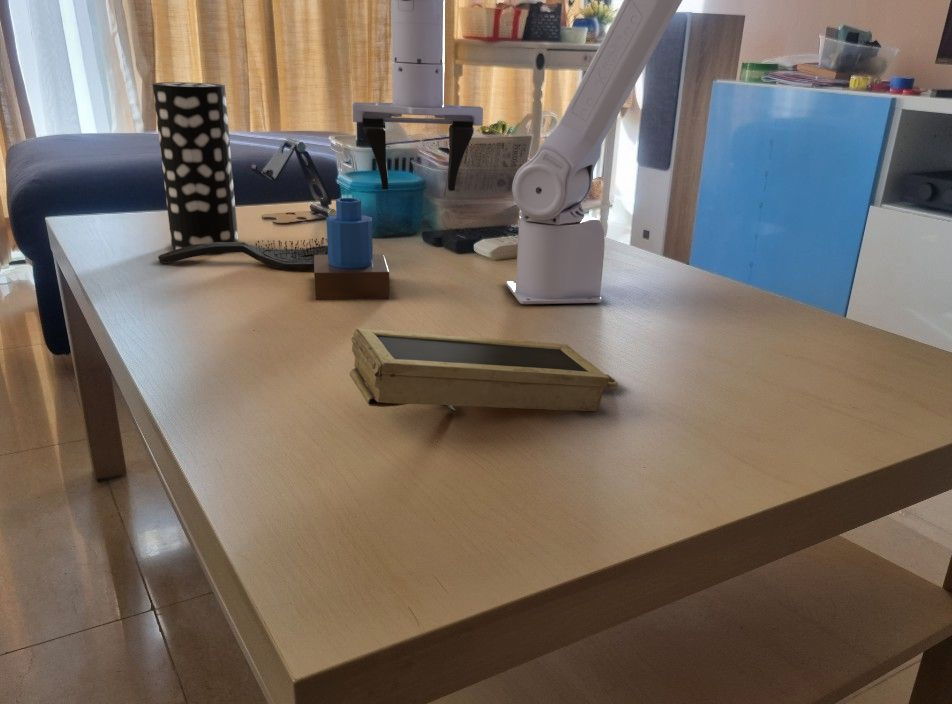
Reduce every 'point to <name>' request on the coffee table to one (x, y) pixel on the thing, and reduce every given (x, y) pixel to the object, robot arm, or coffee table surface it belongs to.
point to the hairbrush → (254, 254)
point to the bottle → (349, 235)
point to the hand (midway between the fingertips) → (418, 188)
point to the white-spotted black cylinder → (196, 162)
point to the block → (351, 280)
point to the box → (473, 372)
